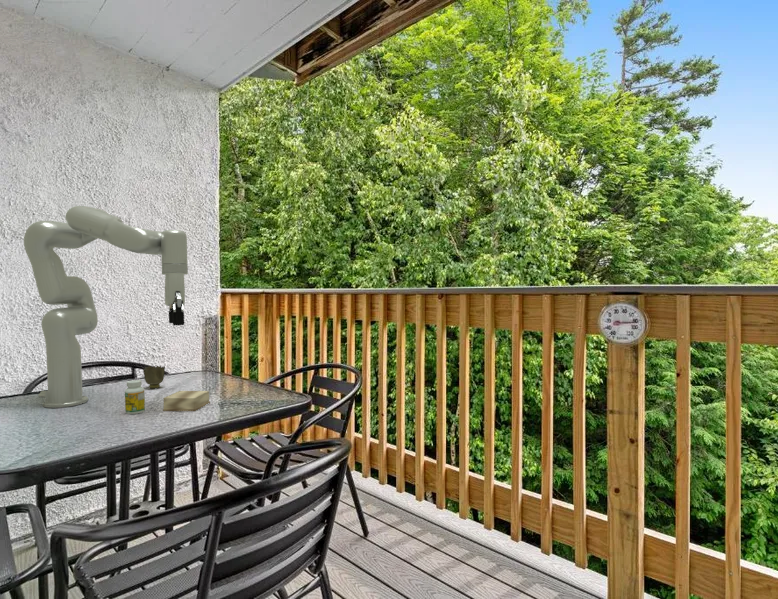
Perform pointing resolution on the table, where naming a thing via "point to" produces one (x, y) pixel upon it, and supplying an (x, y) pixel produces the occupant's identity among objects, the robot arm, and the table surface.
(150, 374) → the cup
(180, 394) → the base block
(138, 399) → the supplement bottle
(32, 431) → the table surface
